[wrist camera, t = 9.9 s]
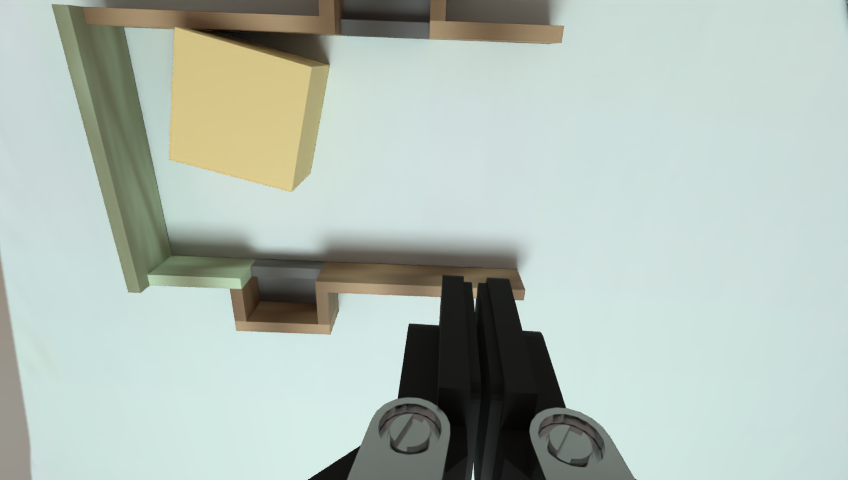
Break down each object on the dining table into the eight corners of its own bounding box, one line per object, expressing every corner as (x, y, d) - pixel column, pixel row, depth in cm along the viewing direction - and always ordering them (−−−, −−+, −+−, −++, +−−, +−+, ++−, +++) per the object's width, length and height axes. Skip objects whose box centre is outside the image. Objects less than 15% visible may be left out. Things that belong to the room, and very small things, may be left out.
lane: (559, -40, 24) (581, -56, 20) (510, 318, 33) (520, 351, 30) (90, -58, 24) (29, -78, 20) (172, 304, 33) (139, 335, 30)
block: (330, 65, 27) (311, 67, 23) (311, 172, 29) (291, 192, 25) (215, 31, 26) (174, 26, 22) (206, 144, 29) (168, 159, 25)
